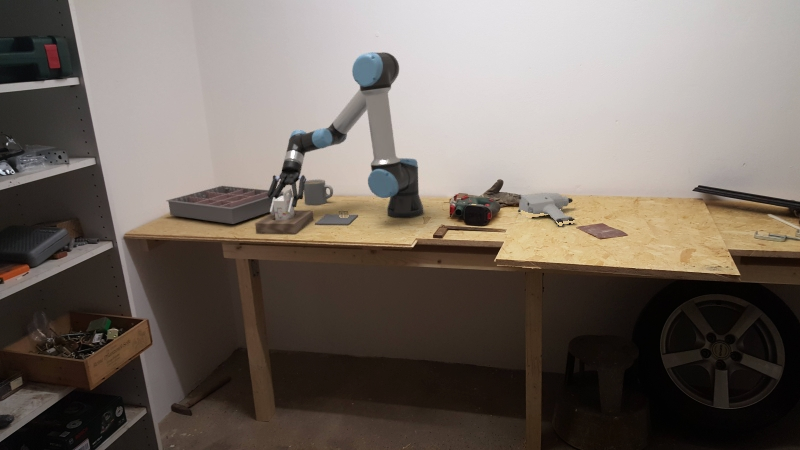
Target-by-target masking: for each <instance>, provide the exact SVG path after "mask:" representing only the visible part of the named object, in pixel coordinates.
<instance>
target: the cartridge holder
mask: <svg viewBox="0 0 800 450" xmlns="http://www.w3.org/2000/svg"><path fill="white" fill-rule="evenodd" d="M294 215H295V216H293V217H292V218H290V219H289V220H276V219H275V213H274V215H272V214H271V213H269V214H268V215H266V216H265V217H263V218H262V219H260V220H258V221H257V222H255V223H254V226H255V233H256V234H261V235H262V234H264V235H265V234H266V235H268V234H270V235H275V234H276V235H277V234H278V235H296V234H298V233H299V232H301V230H303V229H304V228H306V227H307V226H308V225H309V224H310V223H312V222H313V221H314V210H303V209H302V210H299V209H296V210H295V209H294Z"/></svg>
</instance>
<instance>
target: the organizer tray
mask: <svg viewBox="0 0 800 450" xmlns="http://www.w3.org/2000/svg"><path fill="white" fill-rule="evenodd" d="M268 191H269V189H258V188H249V187H238V186H229V185H228V186H226V185H219V186H216V187H212V188H209V189H205V190H201V191H197V192H193V193H189V194H186V195H182V196H178V197H175V198H170V199H167V200H165V202H168V206H169V213H170V216H175V217H181V218H188V219H196V220H203V221H209V222H217V223H224V224H231V225H234V224H235V225H236V224H238V223H240V222H244V221H246V220H250V219H252V218H253V219H254V218H255V217H258V216H261V215H264V214H268V213H270V208H271V206H270V201H271V199H269V197H268V196H267V194H268ZM284 192H285V191H281V193H280V194H279V196H278V197H277V198H279V197H280V196H283V193H284Z"/></svg>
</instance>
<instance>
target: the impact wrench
mask: <svg viewBox="0 0 800 450" xmlns="http://www.w3.org/2000/svg"><path fill="white" fill-rule="evenodd" d="M518 199H519V203H518V204H519V206H518V210H517V213H519V212H521V210H523V211H525V212H528V213H533V214H540V213H544V214H548V215H550V217H551V219H552V218H553V219H554V220H555V221H557V222H558V223H559V222H562V223H563V221H568V220H569V221H573V220H575V221H576V219H575V218H573V216H569V215H566V214H564V210H560V209H563V208H564V207H568V206H569V204H571V203H572V202H573V198H572V197H571V198H570V197H568V196H566V195H563V196H562V195H561V194H560V193H558V192H538V193H528V194H522V195H521V194H520V196H518ZM553 219H552V220H553ZM554 220H553V221H554ZM555 221H554V222H555Z"/></svg>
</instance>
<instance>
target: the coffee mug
mask: <svg viewBox="0 0 800 450" xmlns="http://www.w3.org/2000/svg"><path fill="white" fill-rule="evenodd" d="M327 189H328V190H329V194H328V193H327ZM333 193H334V189H333V187H332V185H329V184H326V180H325V179H321V178H320V179H318V178H317V179H308V180H307V179H306V181H305V183H304V192H303V198H304V204H305V205H306V206H321V205H325V204H327V200H328V199H330V198H331V197H332V196H333V195H334V194H333Z"/></svg>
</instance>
